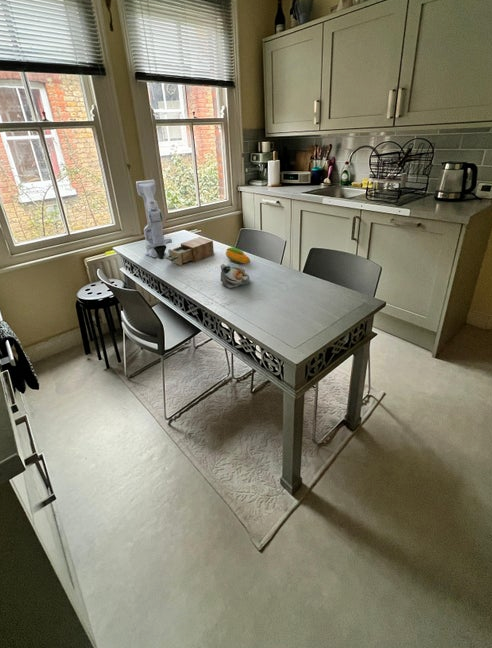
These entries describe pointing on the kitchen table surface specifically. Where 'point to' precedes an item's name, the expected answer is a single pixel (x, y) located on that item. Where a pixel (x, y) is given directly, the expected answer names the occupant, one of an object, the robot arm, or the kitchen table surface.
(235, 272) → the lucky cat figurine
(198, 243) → the cabinet
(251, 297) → the kitchen table surface
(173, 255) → the drawer
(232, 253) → the corn
